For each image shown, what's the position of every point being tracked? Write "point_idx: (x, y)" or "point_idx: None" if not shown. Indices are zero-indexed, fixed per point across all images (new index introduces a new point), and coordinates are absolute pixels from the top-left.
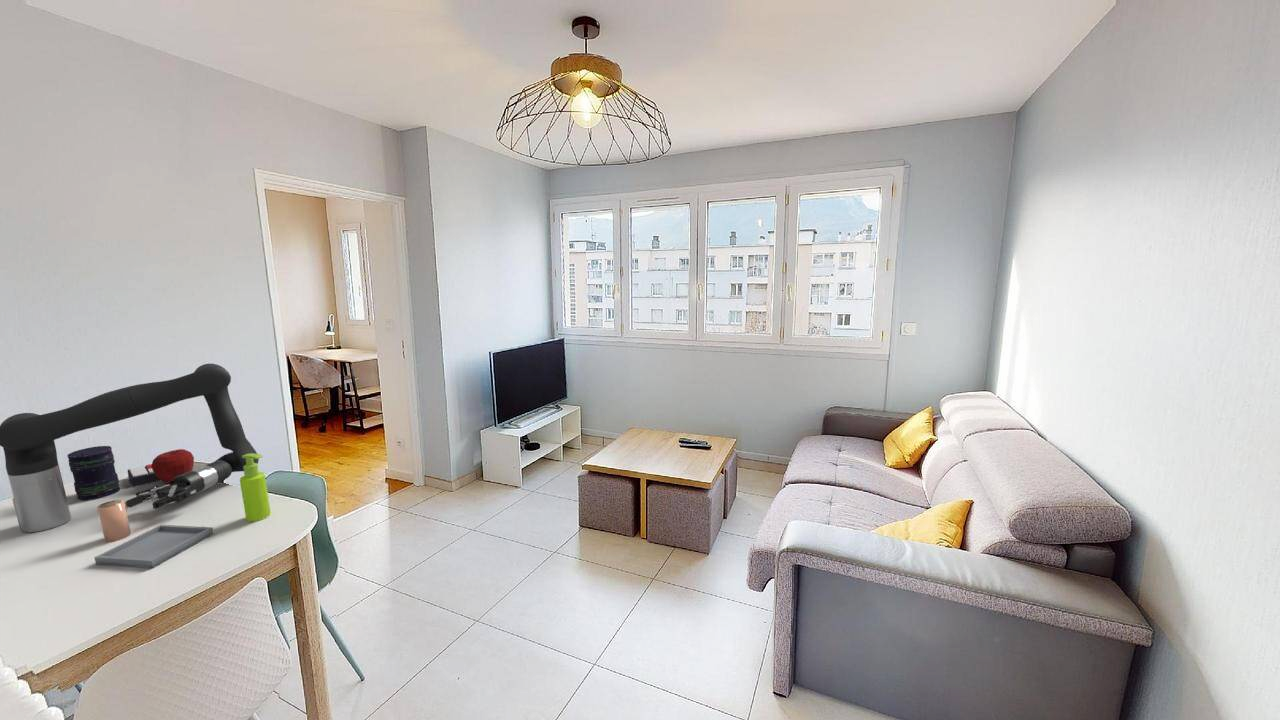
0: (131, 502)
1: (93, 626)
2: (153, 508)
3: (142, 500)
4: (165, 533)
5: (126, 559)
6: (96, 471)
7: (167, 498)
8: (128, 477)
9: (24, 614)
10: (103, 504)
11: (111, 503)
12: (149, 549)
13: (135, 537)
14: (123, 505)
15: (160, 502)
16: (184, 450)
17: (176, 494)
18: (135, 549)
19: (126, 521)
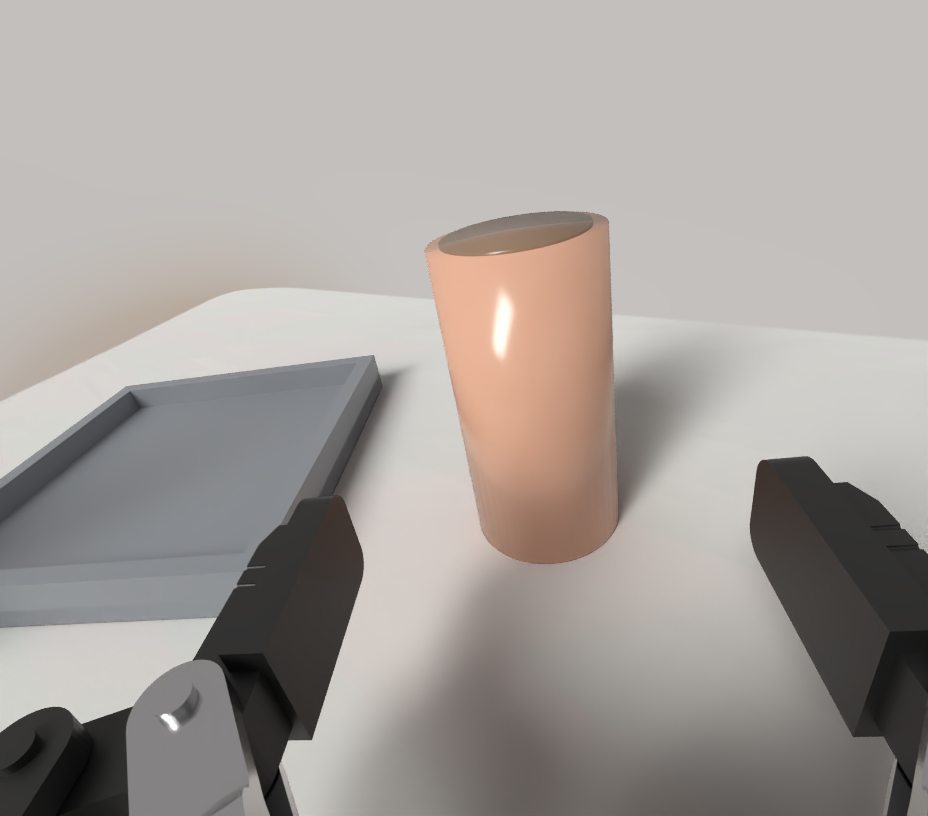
0: (778, 521)
1: (181, 322)
2: (359, 554)
3: (864, 715)
4: (197, 551)
5: (229, 373)
6: None
7: (217, 650)
8: None
9: (363, 302)
10: (561, 216)
11: (508, 231)
12: (203, 446)
13: (319, 448)
14: (437, 292)
15: (263, 548)
16: None
17: (51, 756)
18: (274, 435)
19: (462, 435)
